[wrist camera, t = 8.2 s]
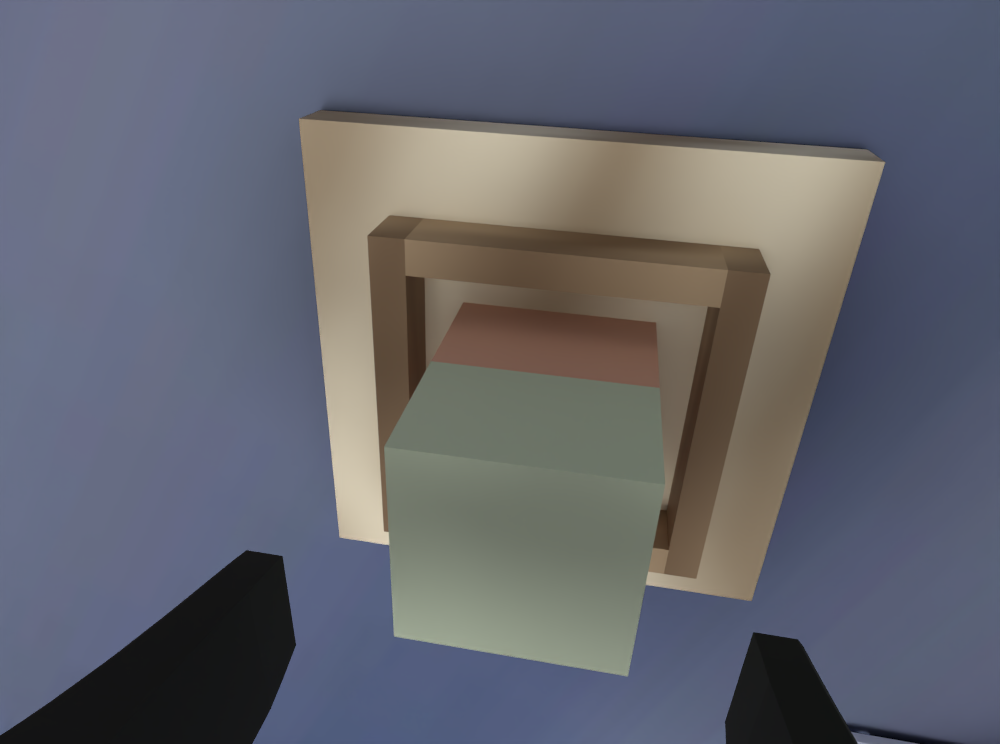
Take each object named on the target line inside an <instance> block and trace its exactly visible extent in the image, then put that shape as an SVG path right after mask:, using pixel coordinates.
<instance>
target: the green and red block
mask: <svg viewBox="0 0 1000 744" xmlns="http://www.w3.org/2000/svg"><path fill="white" fill-rule="evenodd" d="M384 454H385V473H386V492H387V511H388V530H389V548H390V567H391V586H392V605H393V624H394V636H395V637H401V638H407V639H412V640H418V641H424V642H430V643H436V644H442V645H447V646H453V647H459V648H465V649H471V650H477V651H483V652H488V653H494V654H500V655H506V656H512V657H518V658H524V659H529V660H535V661H541V662H547V663H553V664H559V665H564V666H570V667H576V668H582V669H588V670H594V671H600V672H605V673H611V674H617V675H623V676H628V673H629V668H630V663H631V657H632V652H633V647H634V642H635V637H636V632H637V627H638V622H639V616H640V611H641V606H642V601H643V596H644V591H645V586H646V580H647V575H648V570H649V565H650V560H651V555H652V550H653V545H654V539H655V534H656V529H657V524H658V519H659V514H660V509H661V504H662V498H663V493H664V488H665V473H664V455H663V437H662V419H661V402H660V384H659V366H658V348H657V330H656V322H646V321H637V320H627V319H618V318H608V317H599V316H589V315H580V314H570V313H561V312H551V311H542V310H532V309H523V308H513V307H504V306H494V305H485V304H475V303H466V302H463V304H462V306H461V307H460V309H459V311H458V313H457V315H456V317H455V318H454V320H453V322H452V324H451V326H450V328H449V329H448V331H447V333H446V335H445V337H444V338H443V340H442V342H441V344H440V346H439V348H438V349H437V351H436V353H435V355H434V357H433V359H432V360H431V362H430V364H429V366H428V368H427V370H426V371H425V373H424V375H423V377H422V379H421V380H420V382H419V384H418V386H417V388H416V390H415V391H414V393H413V395H412V397H411V399H410V401H409V402H408V404H407V406H406V408H405V410H404V412H403V413H402V415H401V417H400V419H399V421H398V422H397V424H396V426H395V428H394V430H393V432H392V433H391V435H390V437H389V439H388V441H387V443H386V444H385V446H384Z"/></svg>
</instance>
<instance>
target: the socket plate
mask: <svg viewBox="0 0 1000 744" xmlns="http://www.w3.org/2000/svg"><path fill="white" fill-rule="evenodd" d="M299 125H300V136H301V146H302V156H303V166H304V177H305V187H306V197H307V207H308V218H309V228H310V238H311V248H312V259H313V269H314V279H315V289H316V300H317V310H318V320H319V330H320V340H321V351H322V361H323V371H324V381H325V392H326V402H327V412H328V422H329V433H330V443H331V453H332V463H333V474H334V484H335V494H336V504H337V515H338V525H339V535H340V538H347V539H353V540H360V541H366V542H373V543H379V544H386V545H389V530H388V511H387V492H386V473H385V454H384V446H385V444H386V443H387V441H388V439H389V437H390V435H391V433H392V432H393V430H394V428H395V426H396V424H397V422H398V421H399V419H400V417H401V415H402V413H403V412H404V410H405V408H406V406H407V404H408V402H409V401H410V399H411V397H412V395H413V393H414V391H415V390H416V388H417V386H418V384H419V382H420V380H421V379H422V377H423V375H424V373H425V371H426V370H427V368H428V366H429V364H430V362H431V360H432V359H433V357H434V355H435V353H436V351H437V349H438V348H439V346H440V344H441V342H442V340H443V338H444V337H445V335H446V333H447V331H448V329H449V328H450V326H451V324H452V322H453V320H454V318H455V317H456V315H457V313H458V311H459V309H460V307H461V306H462V304H463V302H466V303H475V304H485V305H494V306H504V307H513V308H523V309H532V310H542V311H551V312H561V313H570V314H580V315H589V316H599V317H608V318H618V319H627V320H637V321H646V322H656V330H657V348H658V366H659V384H660V402H661V419H662V437H663V455H664V473H665V488H664V493H663V498H662V504H661V509H660V514H659V519H658V524H657V529H656V534H655V539H654V545H653V550H652V555H651V560H650V565H649V570H648V575H647V580H646V585H651V586H658V587H664V588H671V589H677V590H684V591H690V592H696V593H703V594H709V595H716V596H722V597H729V598H735V599H742V600H748V601H752V598H753V594H754V591H755V588H756V584H757V581H758V578H759V575H760V571H761V568H762V565H763V561H764V558H765V555H766V552H767V548H768V545H769V542H770V538H771V535H772V532H773V529H774V525H775V522H776V519H777V515H778V512H779V509H780V506H781V502H782V499H783V496H784V493H785V489H786V486H787V483H788V479H789V476H790V473H791V470H792V466H793V463H794V460H795V456H796V453H797V450H798V447H799V443H800V440H801V437H802V433H803V430H804V427H805V424H806V420H807V417H808V414H809V410H810V407H811V404H812V401H813V397H814V394H815V391H816V387H817V384H818V381H819V378H820V374H821V371H822V368H823V365H824V361H825V358H826V355H827V351H828V348H829V345H830V342H831V338H832V335H833V332H834V328H835V325H836V322H837V319H838V315H839V312H840V309H841V305H842V302H843V299H844V296H845V292H846V289H847V286H848V282H849V279H850V276H851V273H852V269H853V266H854V263H855V259H856V256H857V253H858V250H859V246H860V243H861V240H862V237H863V233H864V230H865V227H866V223H867V220H868V217H869V214H870V210H871V207H872V204H873V200H874V197H875V194H876V191H877V187H878V184H879V181H880V177H881V174H882V171H883V168H884V164H885V162H884V161H883V160H881V159H880V158H879V157H877V156H876V155H874V154H873V153H872V152H870V151H869V150H867V149H853V148H839V147H825V146H811V145H797V144H783V143H769V142H756V141H742V140H728V139H714V138H700V137H686V136H672V135H658V134H645V133H631V132H617V131H603V130H589V129H575V128H561V127H547V126H534V125H520V124H506V123H492V122H478V121H464V120H450V119H436V118H423V117H409V116H395V115H381V114H367V113H353V112H339V111H325V110H320V111H317V112H315V113H312V114H310V115H307V116H305V117H302V118H299Z"/></svg>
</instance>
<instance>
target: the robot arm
mask: <svg viewBox="0 0 1000 744" xmlns="http://www.w3.org/2000/svg"><path fill="white" fill-rule="evenodd" d="M295 646H296V642H295V636H294V629H293V623H292V616H291V609H290V603H289V596H288V590H287V583H286V577H285V570H284V563H283V557H282V556H278V555H272V554H266V553H260V552H254V551H247V550H246V551H245V552H244V553H242V554H241V555H240V556H238V557H237V558H236V559H235V560H233V561H232V562H231V563H230V564H228V565H227V566H226V567H225V568H223V569H222V570H221V571H220V572H218V573H217V574H216V575H215V576H213V577H212V578H211V579H210V580H209V581H207V582H206V583H205V584H204V585H202V586H201V587H200V588H199V589H197V590H196V591H195V592H194V593H193V594H191V595H190V596H189V597H188V598H186V599H185V600H184V601H183V602H181V603H180V604H179V605H178V606H176V607H175V608H174V609H173V610H172V611H170V612H169V613H168V614H167V615H165V616H164V617H163V618H162V619H160V620H159V621H158V622H156V623H155V624H154V625H153V626H151V627H150V628H149V629H147V630H146V631H145V632H144V633H142V634H141V635H140V636H139V637H137V638H136V639H135V640H133V641H132V642H131V643H130V644H128V645H127V646H126V647H124V648H123V649H122V650H121V651H119V652H118V653H117V654H115V655H114V656H113V657H111V658H110V659H109V660H107V661H106V662H105V663H103V664H102V665H101V666H99V667H98V668H96V669H95V670H94V671H92V672H91V673H90V674H88V675H87V676H85V677H84V678H83V679H81V680H80V681H79V682H77V683H76V684H74V685H73V686H72V687H70V688H69V689H67V690H66V691H65V692H63V693H62V694H61V695H59V696H58V697H56V698H55V699H54V700H52V701H51V702H49V703H48V704H47V705H45V706H44V707H42V708H41V709H39V710H38V711H36V712H35V713H33V714H32V715H30V716H29V717H27V718H26V719H25V720H23V721H22V722H20V723H19V724H17V725H16V726H14V727H13V728H11V729H10V730H8V731H6V732H5V733H3V734H2V735H0V744H252V743H253V741H254V739H255V737H256V736H257V734H258V732H259V730H260V728H261V726H262V724H263V722H264V720H265V718H266V717H267V715H268V713H269V711H270V709H271V706H272V704H273V702H274V699H275V697H276V694H277V692H278V689H279V687H280V685H281V682H282V680H283V677H284V675H285V672H286V669H287V667H288V664H289V662H290V659H291V656H292V654H293V651H294V649H295ZM725 727H726V744H918V743H912V742H906V741H900V740H895V739H889V738H883V737H877V736H872V735H866V734H860V733H855V732H851V731H850V729H849V727H848V726H847V724H846V722H845V721H844V719H843V717H842V715H841V714H840V712H839V710H838V709H837V707H836V705H835V703H834V701H833V700H832V698H831V696H830V694H829V693H828V691H827V689H826V687H825V685H824V684H823V682H822V680H821V678H820V676H819V675H818V673H817V671H816V669H815V667H814V665H813V664H812V662H811V660H810V658H809V656H808V654H807V653H806V651H805V649H804V647H803V646H802V644H801V643H800V642H799V641H798V639H792V638H786V637H779V636H773V635H767V634H761V633H755V632H753V635H752V638H751V642H750V645H749V648H748V651H747V654H746V657H745V661H744V664H743V667H742V670H741V673H740V677H739V680H738V683H737V686H736V689H735V692H734V696H733V699H732V702H731V705H730V708H729V711H728V715H727V718H726V721H725Z"/></svg>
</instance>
